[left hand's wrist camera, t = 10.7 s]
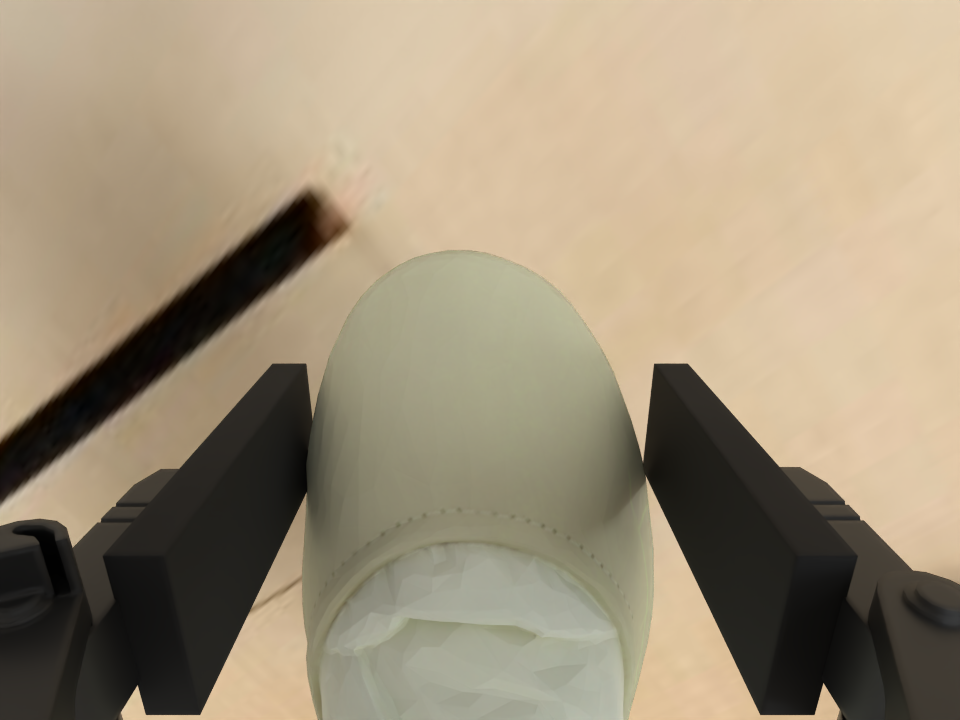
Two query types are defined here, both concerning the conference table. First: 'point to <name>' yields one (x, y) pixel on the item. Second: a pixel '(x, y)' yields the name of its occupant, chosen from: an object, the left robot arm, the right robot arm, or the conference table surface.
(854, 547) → the left robot arm
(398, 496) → the ballet flat
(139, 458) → the conference table surface
